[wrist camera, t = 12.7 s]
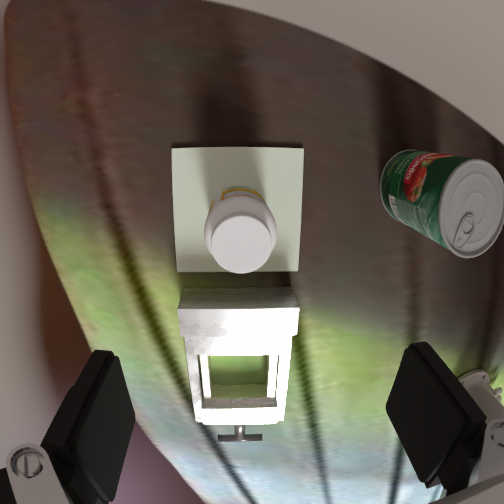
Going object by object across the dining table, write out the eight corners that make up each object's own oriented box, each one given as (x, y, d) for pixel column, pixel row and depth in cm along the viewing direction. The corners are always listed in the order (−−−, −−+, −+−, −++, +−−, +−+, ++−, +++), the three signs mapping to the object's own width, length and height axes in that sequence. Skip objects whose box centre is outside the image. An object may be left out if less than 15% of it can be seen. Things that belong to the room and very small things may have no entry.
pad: (302, 148, 29) (303, 148, 28) (297, 269, 32) (297, 271, 32) (172, 148, 28) (171, 148, 27) (177, 270, 32) (177, 271, 31)
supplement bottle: (236, 252, 31) (238, 298, 22) (197, 211, 30) (182, 243, 20) (279, 215, 30) (299, 248, 21) (241, 172, 29) (245, 186, 19)
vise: (293, 286, 33) (302, 307, 29) (280, 429, 41) (284, 452, 36) (181, 287, 32) (174, 308, 28) (198, 430, 40) (196, 454, 36)
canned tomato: (400, 134, 28) (468, 137, 18) (449, 174, 30) (518, 193, 20) (365, 201, 30) (423, 230, 20) (418, 235, 32) (479, 273, 22)
